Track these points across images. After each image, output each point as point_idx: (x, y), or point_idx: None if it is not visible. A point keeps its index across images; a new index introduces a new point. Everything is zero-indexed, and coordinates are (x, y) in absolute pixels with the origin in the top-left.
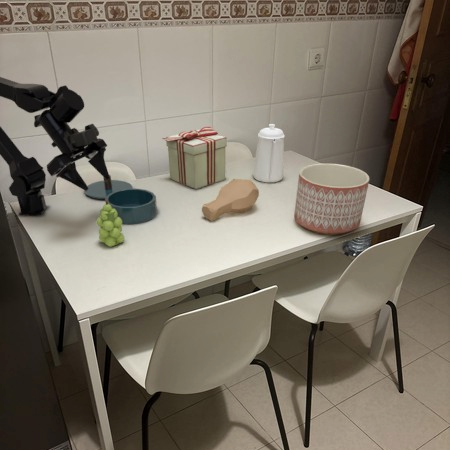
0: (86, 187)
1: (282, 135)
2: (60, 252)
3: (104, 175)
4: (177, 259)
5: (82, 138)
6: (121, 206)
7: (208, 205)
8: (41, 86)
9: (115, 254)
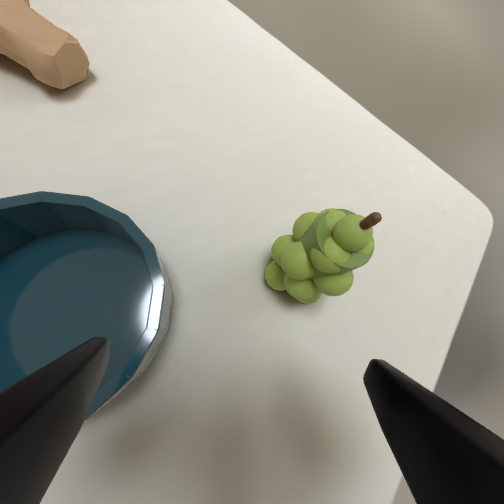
0: (394, 367)
1: None
2: None
3: (87, 394)
4: (298, 118)
5: None
6: (10, 385)
7: (45, 40)
8: None
9: None
